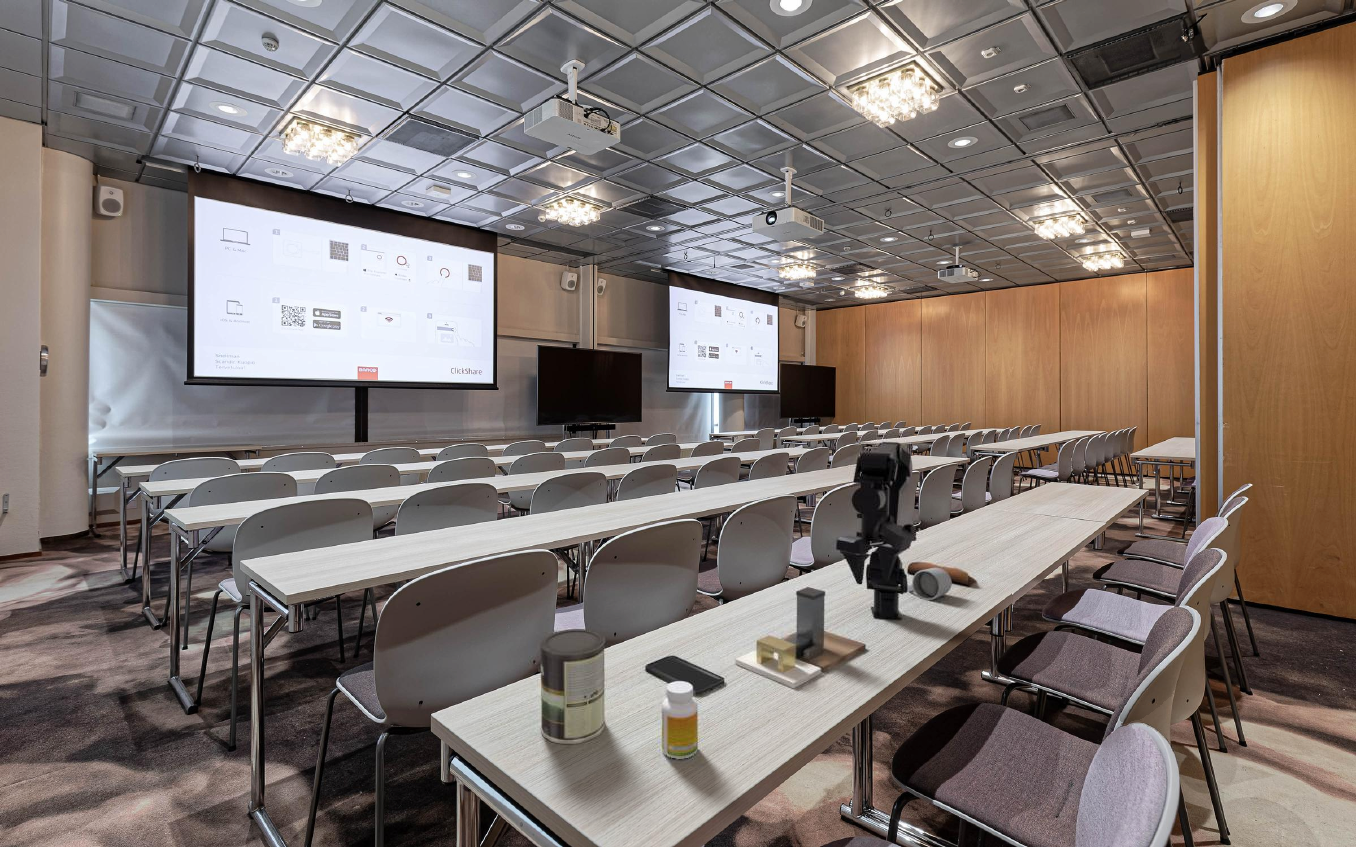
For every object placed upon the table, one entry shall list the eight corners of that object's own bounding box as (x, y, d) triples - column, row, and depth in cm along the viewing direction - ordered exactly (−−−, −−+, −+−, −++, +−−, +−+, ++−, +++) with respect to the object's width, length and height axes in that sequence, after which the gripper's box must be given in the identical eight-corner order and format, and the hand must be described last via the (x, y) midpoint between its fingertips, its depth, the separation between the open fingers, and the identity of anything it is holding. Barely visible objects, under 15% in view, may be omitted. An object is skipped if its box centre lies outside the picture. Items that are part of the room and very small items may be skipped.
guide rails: (793, 643, 130) (793, 634, 129) (823, 653, 124) (823, 644, 124) (779, 650, 126) (779, 641, 126) (808, 661, 121) (808, 652, 121)
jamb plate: (763, 651, 128) (763, 646, 128) (820, 673, 118) (820, 668, 118) (735, 663, 122) (735, 658, 122) (793, 688, 112) (793, 682, 112)
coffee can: (531, 742, 94) (530, 652, 94) (552, 708, 104) (551, 627, 104) (597, 746, 93) (596, 655, 93) (611, 712, 103) (611, 629, 103)
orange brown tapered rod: (980, 580, 177) (976, 563, 174) (972, 597, 173) (967, 580, 170) (918, 568, 190) (914, 551, 187) (909, 583, 185) (904, 567, 183)
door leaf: (809, 630, 139) (809, 625, 139) (865, 648, 129) (865, 644, 129) (765, 650, 128) (765, 645, 128) (822, 672, 118) (822, 667, 118)
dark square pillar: (807, 640, 130) (808, 586, 130) (824, 646, 127) (825, 591, 127) (778, 654, 123) (778, 597, 123) (795, 660, 120) (796, 602, 120)
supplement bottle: (705, 752, 92) (705, 688, 91) (675, 765, 89) (675, 699, 88) (683, 736, 96) (683, 675, 96) (654, 747, 93) (654, 684, 93)
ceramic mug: (953, 596, 163) (953, 567, 163) (939, 603, 158) (939, 573, 157) (915, 587, 171) (915, 560, 171) (900, 594, 165) (900, 565, 165)
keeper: (769, 656, 123) (769, 634, 123) (795, 666, 119) (795, 644, 118) (756, 662, 120) (756, 640, 120) (782, 672, 116) (783, 650, 116)
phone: (672, 654, 125) (727, 678, 114) (672, 659, 125) (727, 684, 114) (642, 666, 119) (696, 692, 108) (642, 671, 119) (696, 699, 108)
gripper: (879, 517, 122) (877, 596, 122) (933, 511, 133) (931, 584, 133) (835, 510, 131) (833, 583, 131) (889, 505, 142) (887, 573, 142)
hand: (873, 581), depth 134 cm, fingers open, 9 cm apart
